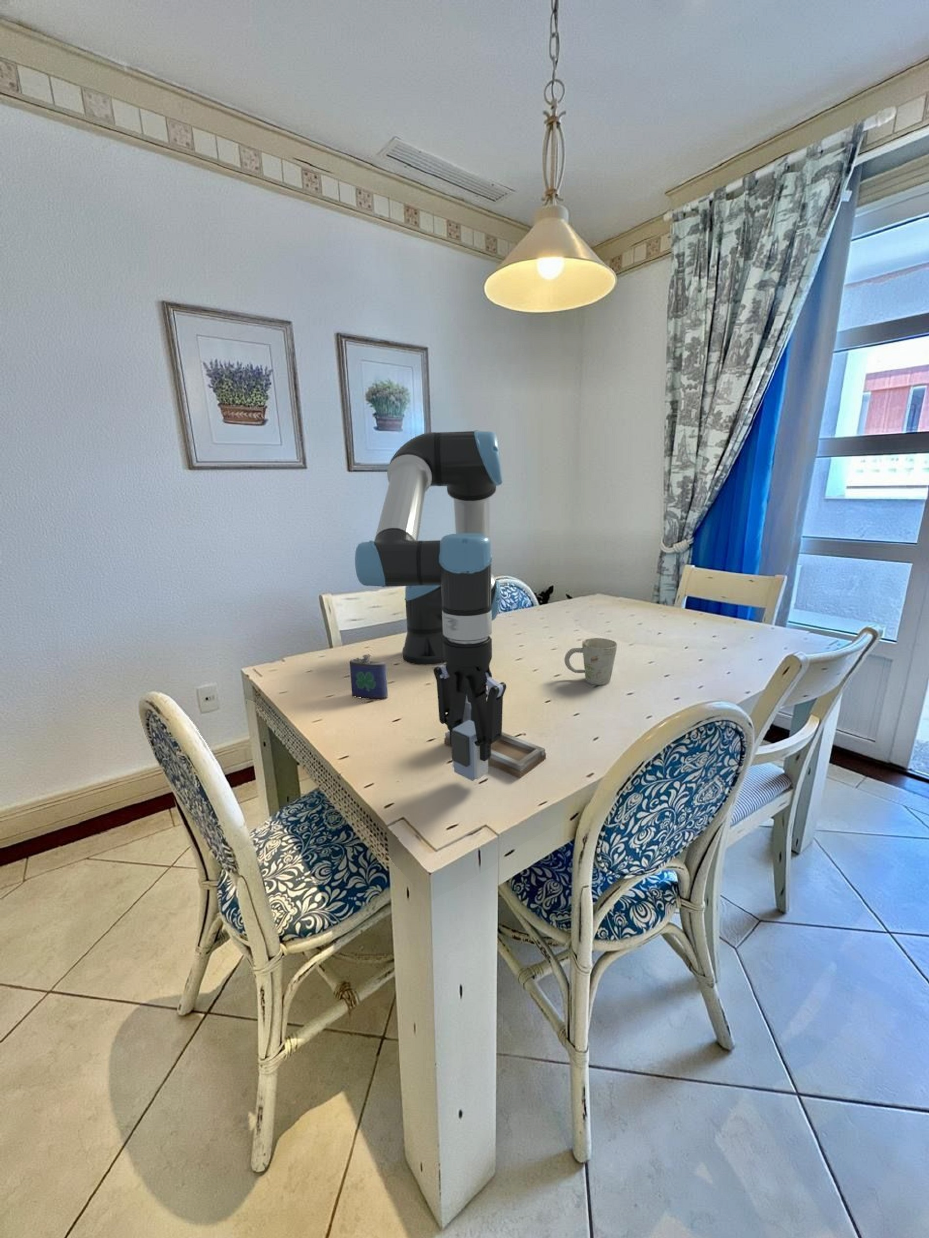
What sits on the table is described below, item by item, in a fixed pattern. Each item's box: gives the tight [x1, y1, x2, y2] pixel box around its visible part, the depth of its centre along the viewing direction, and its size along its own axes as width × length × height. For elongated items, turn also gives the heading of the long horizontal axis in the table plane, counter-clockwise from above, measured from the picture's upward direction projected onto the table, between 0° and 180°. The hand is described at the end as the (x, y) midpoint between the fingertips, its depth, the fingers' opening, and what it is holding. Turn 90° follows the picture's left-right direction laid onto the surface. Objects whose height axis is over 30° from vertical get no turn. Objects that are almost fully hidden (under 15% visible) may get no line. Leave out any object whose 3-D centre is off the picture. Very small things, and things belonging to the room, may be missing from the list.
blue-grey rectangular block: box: [451, 720, 477, 782], centre depth 81 cm, size 4×5×8 cm
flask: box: [349, 653, 389, 700], centre depth 117 cm, size 9×3×11 cm, turn 74°
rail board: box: [443, 696, 547, 779], centre depth 91 cm, size 18×8×9 cm, turn 48°
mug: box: [564, 637, 618, 686], centre depth 123 cm, size 8×13×10 cm, turn 78°
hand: (470, 769), depth 82 cm, fingers closed on blue-grey rectangular block, 4 cm apart
